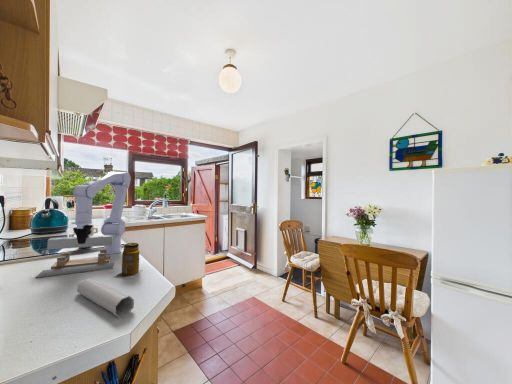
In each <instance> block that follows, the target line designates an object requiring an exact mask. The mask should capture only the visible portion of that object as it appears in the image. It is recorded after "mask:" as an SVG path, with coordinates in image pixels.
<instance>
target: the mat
mask: <svg viewBox="0 0 512 384" xmlns="http://www.w3.org/2000/svg"><path fill="white" fill-rule="evenodd" d="M114 265H115V262H113V261H111V262H109V263H103V264H94V265H85V266H76V267H67V268H58V269H51V268H50V269H43V270H42V271H41V272H39V273H38V275H36V276H35V277H34V278H35V279H40V278H41V279H42V278H49V277H56V276H57V277H58V276H64V275H72V274H73V275H74V274H81V273H89V272H96V271H105V270H106V271H107V270H113V269H114Z"/></svg>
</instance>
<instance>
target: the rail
mask: <svg viewBox="0 0 512 384" xmlns="http://www.w3.org/2000/svg"><path fill="white" fill-rule="evenodd" d="M46 244H47V249H46V250H61V249H62V250H63V249H75V248H78V249H80V248H79V247H84V248H86V247H89V248H92V247H105V246H108V245H112V244H113V235H103V234H102V235H93V236H87V237H86V241H85V244H78V241H77V236H66V237H65V236H64V237H50V238H49V239H47V243H46Z"/></svg>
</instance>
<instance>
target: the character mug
mask: <svg viewBox="0 0 512 384" xmlns="http://www.w3.org/2000/svg"><path fill="white" fill-rule="evenodd" d="M88 225H93V226H92V228H91V230H90V232H89V235H88V236H94V234H95V235H96V234H98V231H99V229H98V227H95V225H94V224H93V223H92V224H88ZM94 230H95V231H94ZM72 234H73V236H76V234H75V232H74V231H73V233H72ZM84 248H86V249H88V247H79V248H78V249H84Z"/></svg>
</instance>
